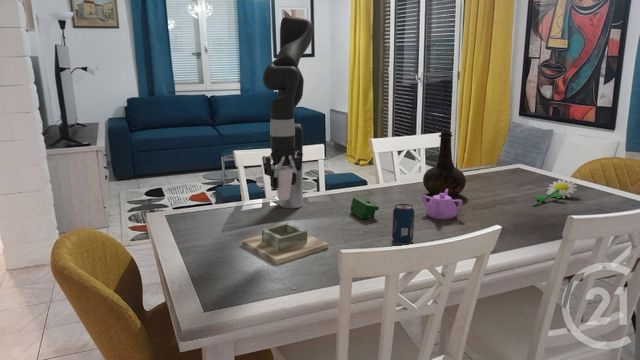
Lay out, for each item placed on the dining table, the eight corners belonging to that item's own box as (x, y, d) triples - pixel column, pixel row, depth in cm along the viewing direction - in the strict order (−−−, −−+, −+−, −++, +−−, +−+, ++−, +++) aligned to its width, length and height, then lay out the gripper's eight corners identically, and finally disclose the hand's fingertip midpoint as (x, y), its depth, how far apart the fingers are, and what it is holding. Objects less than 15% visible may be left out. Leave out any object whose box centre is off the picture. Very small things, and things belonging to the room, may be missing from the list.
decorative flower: (548, 215, 200) (582, 192, 218) (548, 204, 199) (582, 181, 217) (518, 210, 210) (553, 188, 228) (518, 199, 209) (553, 177, 226)
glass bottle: (469, 193, 223) (474, 130, 216) (456, 203, 209) (461, 136, 202) (431, 187, 233) (434, 126, 226) (416, 196, 218) (419, 132, 211)
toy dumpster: (372, 228, 193) (382, 210, 188) (358, 226, 190) (368, 208, 186) (361, 208, 202) (370, 190, 197) (348, 206, 199) (357, 188, 195)
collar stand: (241, 245, 165) (240, 229, 163) (291, 231, 177) (290, 216, 176) (277, 264, 150) (276, 247, 148) (328, 247, 162) (328, 231, 161)
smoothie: (273, 195, 162) (272, 152, 159) (293, 195, 163) (293, 152, 159) (273, 201, 156) (272, 157, 152) (294, 201, 157) (293, 156, 153)
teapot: (446, 209, 201) (447, 187, 199) (464, 220, 188) (466, 197, 186) (418, 211, 198) (420, 190, 196) (436, 223, 185) (437, 200, 183)
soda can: (390, 236, 172) (392, 203, 169) (411, 237, 171) (413, 203, 168) (393, 244, 165) (394, 209, 162) (414, 244, 165) (416, 209, 162)
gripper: (294, 129, 161) (294, 180, 166) (255, 134, 153) (257, 188, 157) (308, 132, 156) (309, 185, 160) (269, 137, 147) (271, 193, 151)
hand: (283, 186), depth 158 cm, fingers closed on smoothie, 6 cm apart
